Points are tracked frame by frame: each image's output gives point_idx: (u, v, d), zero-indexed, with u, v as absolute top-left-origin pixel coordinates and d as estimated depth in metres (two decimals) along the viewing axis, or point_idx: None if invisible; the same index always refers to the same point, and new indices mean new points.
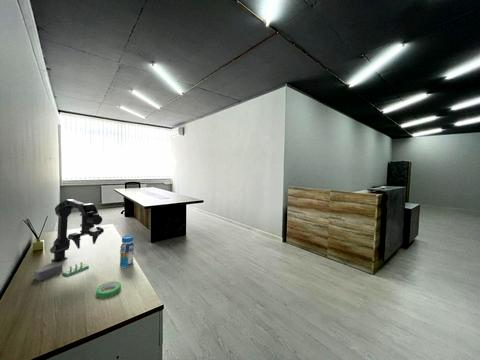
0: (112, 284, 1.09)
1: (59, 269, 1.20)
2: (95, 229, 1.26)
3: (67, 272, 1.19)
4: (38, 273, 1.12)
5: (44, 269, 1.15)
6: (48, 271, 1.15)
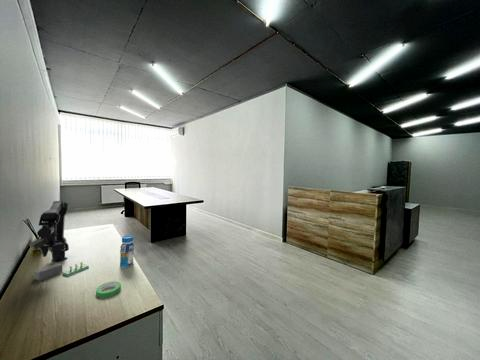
0: (112, 284, 1.09)
1: (59, 269, 1.20)
2: (35, 242, 1.10)
3: (67, 272, 1.19)
4: (38, 273, 1.12)
5: (44, 269, 1.15)
6: (48, 271, 1.15)
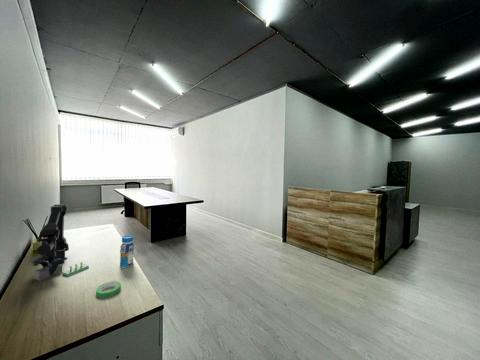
0: (112, 284, 1.09)
1: (59, 269, 1.20)
2: (35, 259, 1.11)
3: (67, 272, 1.19)
4: (38, 273, 1.12)
5: (44, 269, 1.15)
6: (48, 271, 1.15)
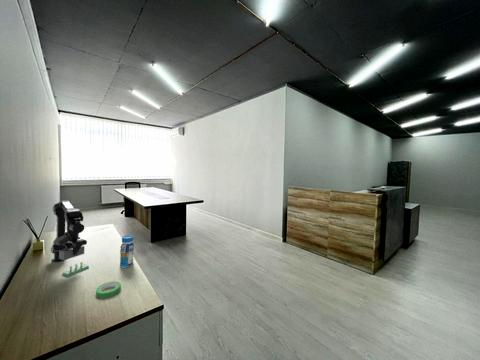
0: (112, 284, 1.09)
1: (81, 250, 1.25)
2: (60, 239, 1.16)
3: (67, 272, 1.19)
4: (63, 253, 1.17)
5: (68, 249, 1.20)
6: (72, 251, 1.20)
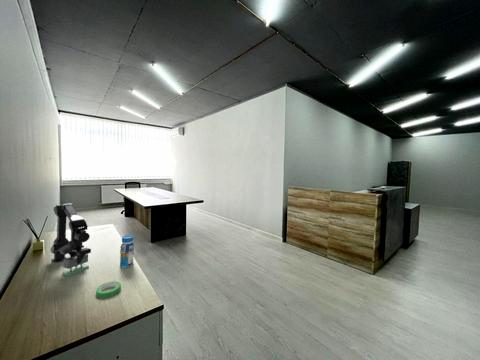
0: (112, 284, 1.09)
1: (85, 258, 1.27)
2: (65, 248, 1.17)
3: (67, 272, 1.19)
4: (67, 261, 1.18)
5: (72, 258, 1.21)
6: (76, 260, 1.22)
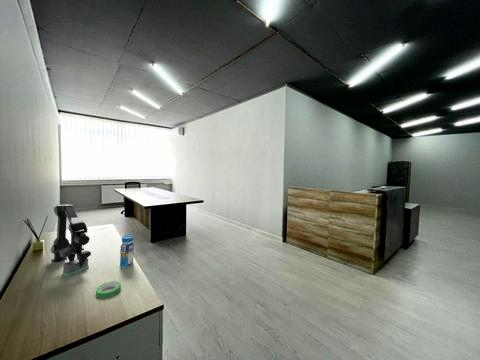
0: (112, 284, 1.09)
1: (85, 263, 1.27)
2: (65, 251, 1.17)
3: None
4: (67, 266, 1.18)
5: (72, 262, 1.21)
6: (76, 264, 1.22)
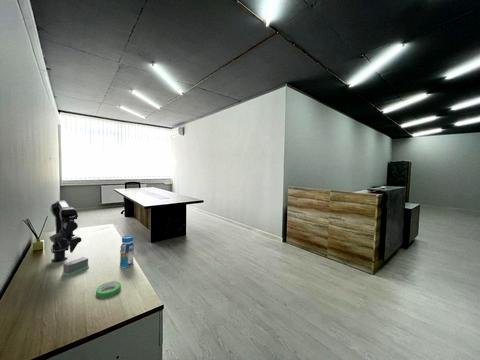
0: (112, 284, 1.09)
1: (85, 263, 1.27)
2: (55, 236, 1.19)
3: None
4: (67, 266, 1.18)
5: (72, 262, 1.21)
6: (76, 264, 1.22)
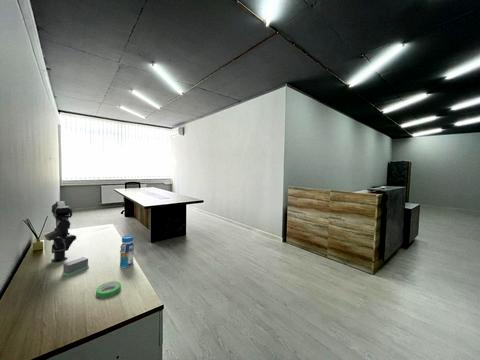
0: (112, 284, 1.09)
1: (85, 263, 1.27)
2: (50, 234, 1.20)
3: None
4: (67, 266, 1.18)
5: (72, 262, 1.21)
6: (76, 264, 1.22)
